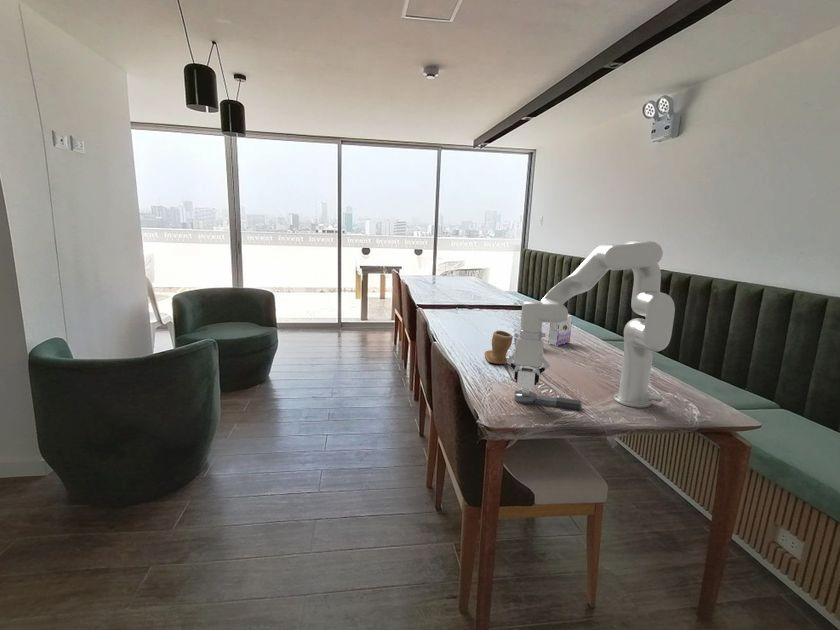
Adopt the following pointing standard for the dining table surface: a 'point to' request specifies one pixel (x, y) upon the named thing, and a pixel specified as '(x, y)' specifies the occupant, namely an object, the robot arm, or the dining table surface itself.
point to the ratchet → (545, 400)
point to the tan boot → (499, 347)
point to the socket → (526, 377)
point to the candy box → (560, 332)
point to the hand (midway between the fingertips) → (526, 382)
